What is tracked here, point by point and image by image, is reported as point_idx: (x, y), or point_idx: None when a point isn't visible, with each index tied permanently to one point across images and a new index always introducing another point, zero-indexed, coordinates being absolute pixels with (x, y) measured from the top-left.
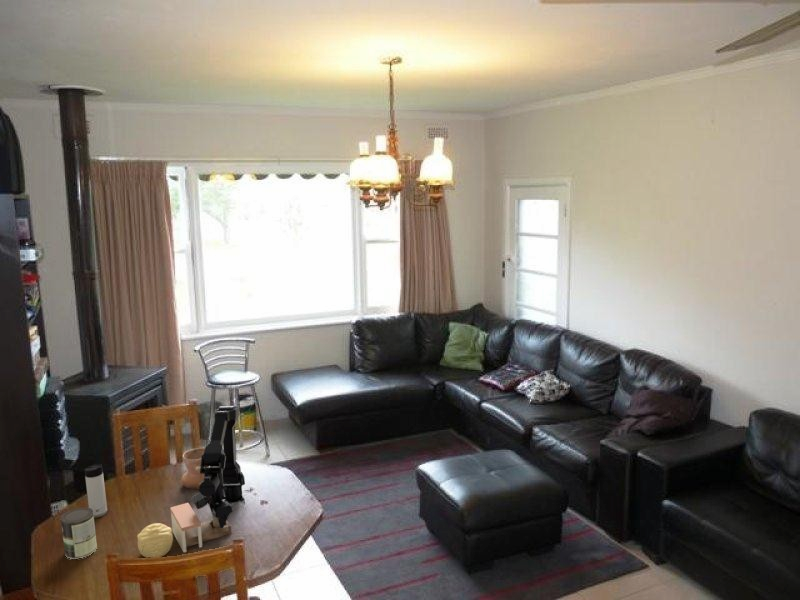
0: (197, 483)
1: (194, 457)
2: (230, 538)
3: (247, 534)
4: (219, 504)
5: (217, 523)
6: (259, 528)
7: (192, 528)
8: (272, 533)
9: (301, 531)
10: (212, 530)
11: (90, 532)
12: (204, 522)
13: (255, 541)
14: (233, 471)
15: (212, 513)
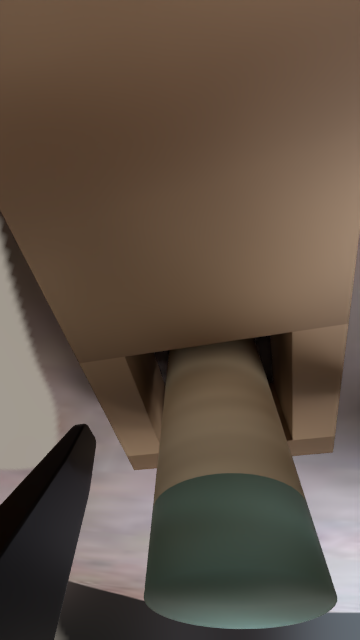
0: None
1: None
2: (74, 400)
3: (100, 469)
4: None
5: (163, 420)
6: (145, 508)
7: (259, 32)
8: (81, 530)
9: (74, 576)
10: (88, 343)
11: None
12: (342, 274)
13: (18, 484)
14: None
15: (219, 546)
